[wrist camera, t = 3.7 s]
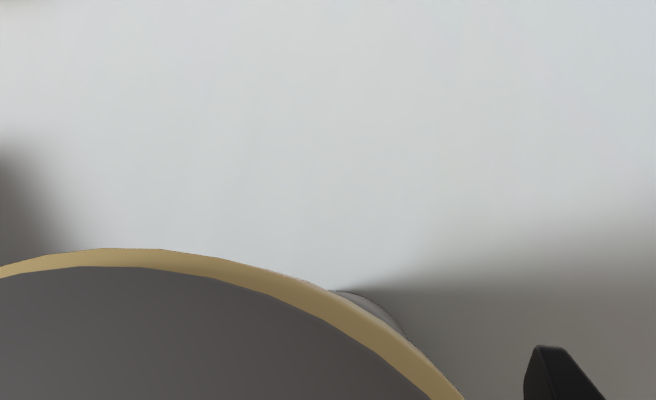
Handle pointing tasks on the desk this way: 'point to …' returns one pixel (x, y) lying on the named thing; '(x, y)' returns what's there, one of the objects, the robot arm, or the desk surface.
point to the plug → (196, 334)
